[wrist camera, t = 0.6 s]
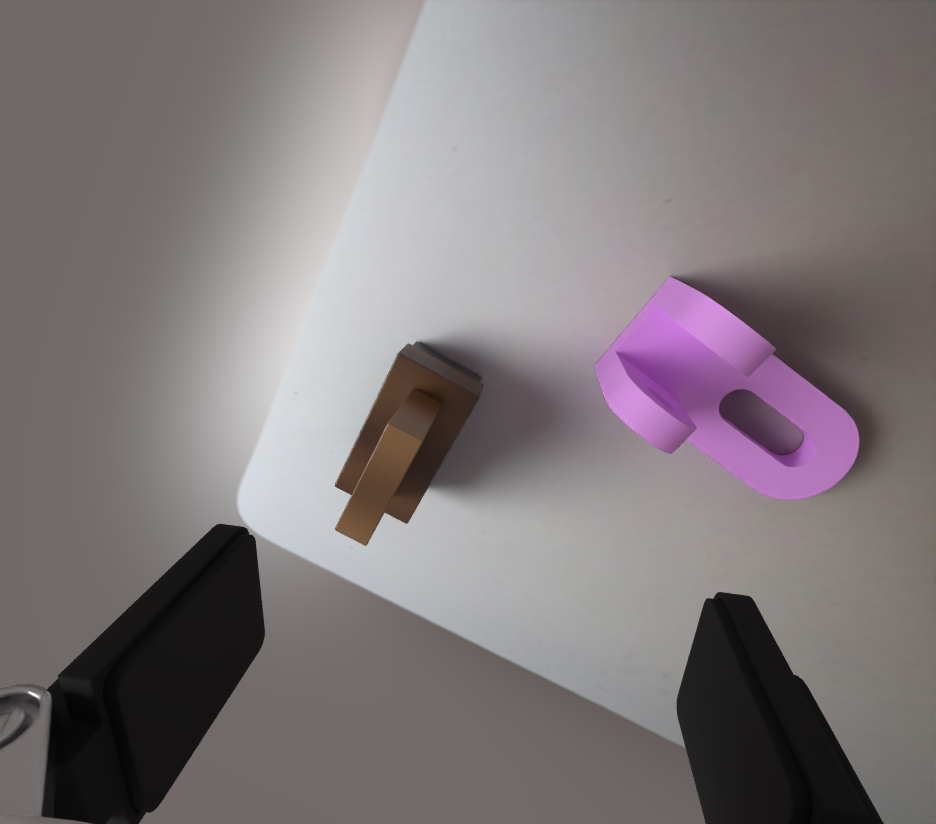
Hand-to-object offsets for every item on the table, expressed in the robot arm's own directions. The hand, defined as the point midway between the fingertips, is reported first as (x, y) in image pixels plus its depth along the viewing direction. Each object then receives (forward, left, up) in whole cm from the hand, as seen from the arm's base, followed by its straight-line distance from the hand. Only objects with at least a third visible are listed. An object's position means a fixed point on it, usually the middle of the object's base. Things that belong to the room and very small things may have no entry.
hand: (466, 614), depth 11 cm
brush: (+1, -6, -18) cm, 19 cm away
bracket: (+5, +10, -18) cm, 22 cm away
